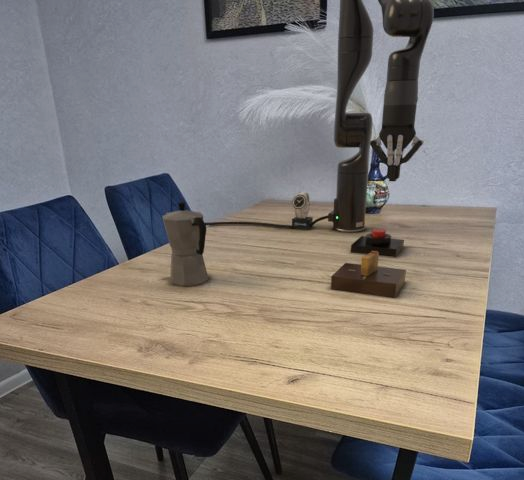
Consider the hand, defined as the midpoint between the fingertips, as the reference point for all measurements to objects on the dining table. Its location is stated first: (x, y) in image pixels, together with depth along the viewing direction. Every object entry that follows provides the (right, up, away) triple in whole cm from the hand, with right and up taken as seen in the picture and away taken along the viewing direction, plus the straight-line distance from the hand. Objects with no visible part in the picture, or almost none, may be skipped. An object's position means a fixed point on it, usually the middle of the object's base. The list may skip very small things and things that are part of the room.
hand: (392, 180), depth 118 cm
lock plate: (-9, -28, -13) cm, 32 cm away
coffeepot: (-49, -26, -7) cm, 56 cm away
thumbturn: (-9, -25, -15) cm, 31 cm away
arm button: (-1, -12, +9) cm, 15 cm away
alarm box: (-1, -15, +11) cm, 19 cm away
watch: (-20, -3, +36) cm, 41 cm away
